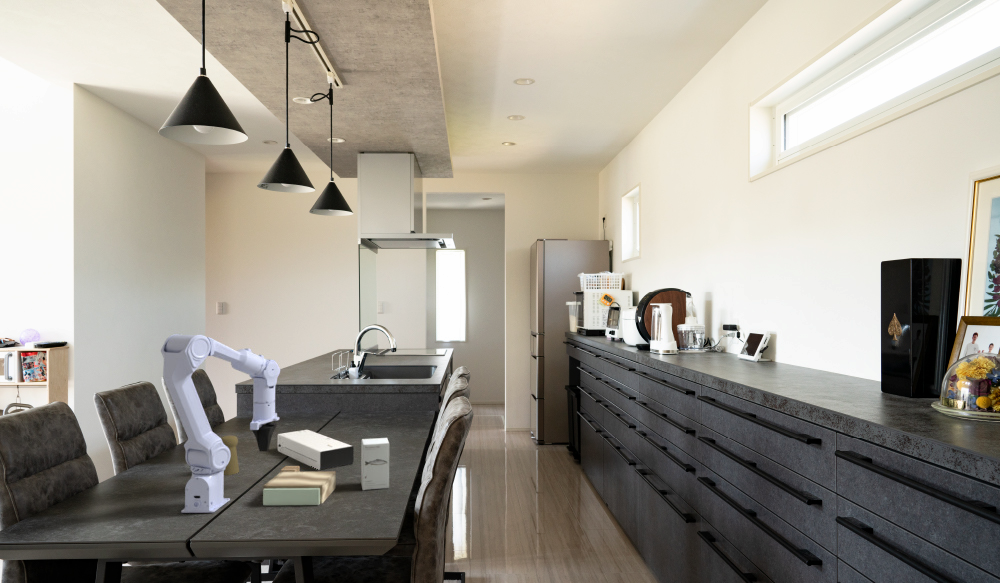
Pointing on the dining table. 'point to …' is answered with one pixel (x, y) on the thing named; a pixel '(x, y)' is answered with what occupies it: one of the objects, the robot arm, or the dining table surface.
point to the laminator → (315, 449)
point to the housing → (305, 481)
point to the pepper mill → (233, 463)
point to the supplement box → (374, 463)
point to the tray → (291, 496)
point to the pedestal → (291, 469)
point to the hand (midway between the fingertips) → (264, 450)
